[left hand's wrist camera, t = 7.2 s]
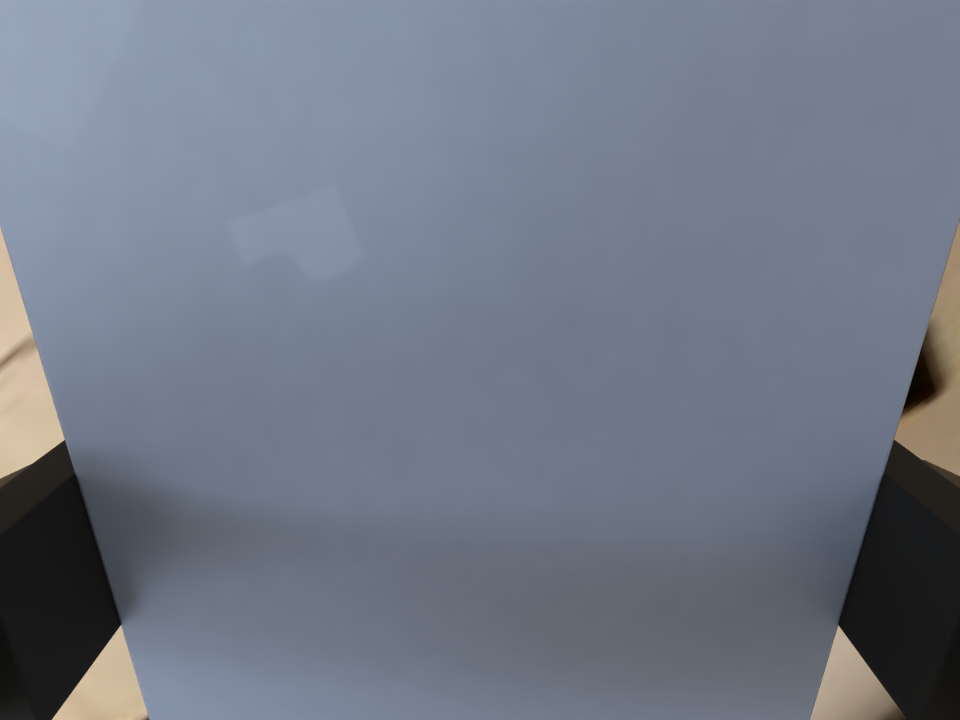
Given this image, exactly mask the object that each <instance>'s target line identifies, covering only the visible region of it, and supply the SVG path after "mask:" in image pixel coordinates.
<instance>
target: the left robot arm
mask: <svg viewBox="0 0 960 720" xmlns="http://www.w3.org/2000/svg"><path fill="white" fill-rule="evenodd" d="M120 625H121V623H120V620H119V616H118V613H117V610H116V606H115V603H114V600H113V597H112V593H111V590H110V587H109V583H108V580H107V577H106V573H105V570H104V567H103V563H102V560H101V557H100V554H99V550H98V547H97V544H96V540H95V537H94V534H93V530H92V527H91V524H90V521H89V517H88V514H87V511H86V507H85V504H84V501H83V497H82V494H81V491H80V488H79V484H78V481H77V478H76V474H75V471H74V468H73V464H72V461H71V458H70V455H69V451H68V448H67V445H66V441H65V440H64V441H63V442H61V443H60V444H59V445H57V446H56V447H55V448H53V449H52V450H51V451H49V452H48V453H47V454H45V455H44V456H42V457H41V458H40V459H38V460H37V461H36V462H34V463H33V464H31V465H29V466H27V467H24V468H22V469H20V470H18V471H16V472H14V473H12V474H9V475H7V476H5V477H3V478H1V479H0V720H52V719H53V717H54V716H55V714H56V713H57V712H58V710H59V709H60V708H61V706H62V705H63V703H64V702H65V701H66V699H67V698H68V697H69V695H70V694H71V693H72V691H73V690H74V688H75V687H76V686H77V684H78V683H79V682H80V680H81V679H82V677H83V676H84V675H85V673H86V672H87V671H88V669H89V668H90V666H91V665H92V664H93V662H94V661H95V660H96V658H97V657H98V656H99V654H100V653H101V651H102V650H103V649H104V647H105V646H106V645H107V643H108V642H109V640H110V639H111V638H112V636H113V635H114V634H115V632H116V631H117V630H118V628H119V627H120ZM838 625H839V626H840V628H841V629H842V630H843V632H844V633H845V635H846V636H847V637H848V639H849V640H850V641H851V643H852V644H853V646H854V647H855V648H856V650H857V651H858V652H859V654H860V655H861V656H862V658H863V659H864V661H865V662H866V663H867V665H868V666H869V667H870V669H871V670H872V672H873V673H874V674H875V676H876V677H877V678H878V680H879V681H880V683H881V684H882V685H883V687H884V688H885V689H886V691H887V692H888V693H889V695H890V696H891V698H892V699H893V700H894V702H895V703H896V704H897V706H898V707H899V709H900V710H901V711H902V713H903V714H904V715H905V717H906V718H907V720H960V476H958V475H955V474H953V473H951V472H949V471H947V470H945V469H942V468H940V467H938V466H936V465H934V464H932V463H930V462H927V461H925V460H921V459H920V458H918V457H917V456H915V455H914V454H913V453H911V452H910V451H909V450H907V449H906V448H905V447H903V446H902V445H901V444H899V443H898V442H896V441H895V440H893V444H892V447H891V450H890V454H889V457H888V460H887V464H886V467H885V470H884V474H883V477H882V480H881V484H880V487H879V490H878V494H877V497H876V500H875V504H874V507H873V510H872V514H871V517H870V520H869V524H868V527H867V530H866V534H865V537H864V540H863V544H862V547H861V551H860V554H859V557H858V561H857V564H856V567H855V571H854V574H853V577H852V581H851V584H850V587H849V591H848V594H847V597H846V601H845V604H844V607H843V611H842V614H841V617H840V621H839V624H838Z"/></svg>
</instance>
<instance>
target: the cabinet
mask: <svg viewBox="0 0 960 720" xmlns="http://www.w3.org/2000/svg"><path fill="white" fill-rule="evenodd" d="M959 220H960V0H0V227H1V230H2V233H3V237H4V240H5V243H6V246H7V250H8V253H9V256H10V260H11V263H12V266H13V270H14V273H15V276H16V280H17V283H18V286H19V289H20V293H21V296H22V299H23V303H24V306H25V309H26V313H27V316H28V319H29V322H30V326H31V329H32V332H33V336H34V339H35V342H36V346H37V349H38V352H39V355H40V359H41V362H42V365H43V369H44V372H45V375H46V379H47V382H48V385H49V388H50V392H51V395H52V398H53V402H54V405H55V408H56V412H57V415H58V418H59V421H60V425H61V428H62V431H63V435H64V438H65V441H66V445H67V448H68V451H69V455H70V458H71V461H72V464H73V468H74V471H75V474H76V478H77V481H78V484H79V488H80V491H81V494H82V497H83V501H84V504H85V507H86V511H87V514H88V517H89V521H90V524H91V527H92V530H93V534H94V537H95V540H96V544H97V547H98V550H99V554H100V557H101V560H102V563H103V567H104V570H105V573H106V577H107V580H108V583H109V587H110V590H111V593H112V597H113V600H114V603H115V606H116V610H117V613H118V616H119V620H120V623H121V626H122V630H123V633H124V636H125V639H126V643H127V646H128V649H129V653H130V656H131V659H132V663H133V666H134V669H135V672H136V676H137V679H138V682H139V686H140V689H141V692H142V696H143V699H144V702H145V705H146V709H147V712H148V715H149V719H150V720H810V717H811V714H812V711H813V707H814V704H815V701H816V697H817V694H818V691H819V687H820V684H821V681H822V677H823V674H824V671H825V667H826V664H827V661H828V657H829V654H830V651H831V647H832V644H833V641H834V637H835V634H836V631H837V627H838V624H839V621H840V617H841V614H842V611H843V607H844V604H845V601H846V597H847V594H848V591H849V587H850V584H851V581H852V577H853V574H854V571H855V567H856V564H857V561H858V557H859V554H860V551H861V547H862V544H863V540H864V537H865V534H866V530H867V527H868V524H869V520H870V517H871V514H872V510H873V507H874V504H875V500H876V497H877V494H878V490H879V487H880V484H881V480H882V477H883V474H884V470H885V467H886V464H887V460H888V457H889V454H890V450H891V447H892V444H893V440H894V437H895V434H896V430H897V427H898V424H899V420H900V417H901V414H902V410H903V407H904V404H905V400H906V397H907V394H908V390H909V387H910V384H911V380H912V377H913V374H914V370H915V367H916V364H917V360H918V357H919V354H920V350H921V347H922V344H923V340H924V337H925V334H926V330H927V327H928V323H929V320H930V317H931V313H932V310H933V307H934V303H935V300H936V297H937V293H938V290H939V287H940V283H941V280H942V277H943V273H944V270H945V267H946V263H947V260H948V257H949V253H950V250H951V247H952V243H953V240H954V237H955V233H956V230H957V227H958V223H959Z"/></svg>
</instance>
